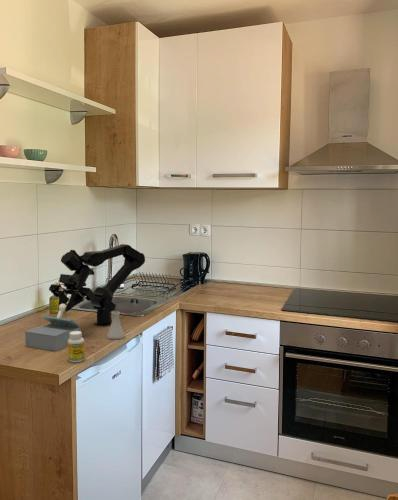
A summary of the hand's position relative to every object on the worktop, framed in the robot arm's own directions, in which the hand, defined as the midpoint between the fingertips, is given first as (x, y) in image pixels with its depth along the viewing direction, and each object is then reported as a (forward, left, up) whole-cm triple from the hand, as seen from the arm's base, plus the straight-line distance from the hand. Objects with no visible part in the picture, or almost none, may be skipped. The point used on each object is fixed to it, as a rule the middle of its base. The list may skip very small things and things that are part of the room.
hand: (62, 310), depth 176 cm
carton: (+6, 0, -11) cm, 12 cm away
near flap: (+1, 0, -4) cm, 4 cm away
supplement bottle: (+17, +19, -11) cm, 28 cm away
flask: (-9, +18, -11) cm, 23 cm away
